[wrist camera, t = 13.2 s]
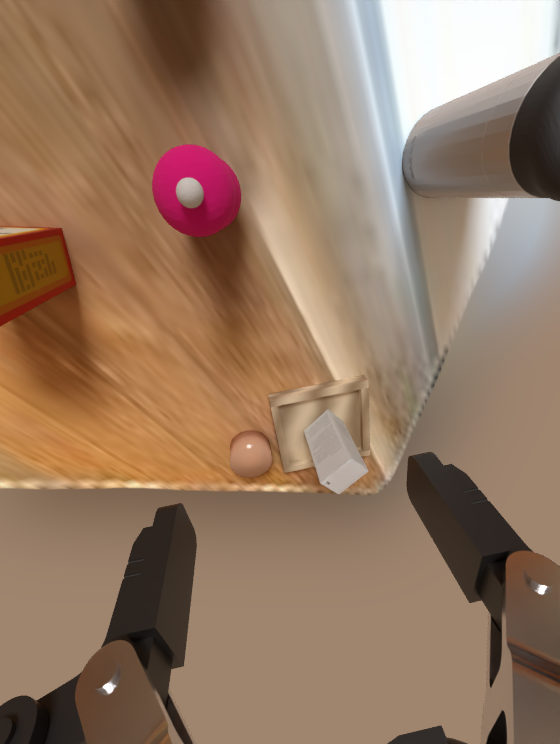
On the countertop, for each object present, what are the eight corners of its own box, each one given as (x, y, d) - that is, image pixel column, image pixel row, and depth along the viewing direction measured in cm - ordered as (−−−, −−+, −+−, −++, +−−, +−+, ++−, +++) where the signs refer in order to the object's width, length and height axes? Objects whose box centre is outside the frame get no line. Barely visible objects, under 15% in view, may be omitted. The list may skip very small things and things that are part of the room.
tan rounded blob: (265, 426, 55) (268, 442, 52) (272, 455, 59) (275, 472, 55) (225, 434, 55) (225, 450, 52) (235, 463, 58) (235, 480, 55)
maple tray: (364, 375, 53) (368, 381, 51) (366, 447, 60) (370, 455, 59) (268, 394, 52) (269, 401, 50) (282, 464, 60) (284, 472, 58)
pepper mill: (245, 223, 40) (254, 244, 22) (187, 232, 39) (149, 260, 22) (233, 153, 36) (233, 113, 19) (169, 162, 36) (108, 130, 18)
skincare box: (319, 441, 57) (338, 496, 47) (302, 430, 55) (318, 484, 45) (344, 420, 56) (370, 471, 45) (328, 407, 54) (351, 458, 43)
